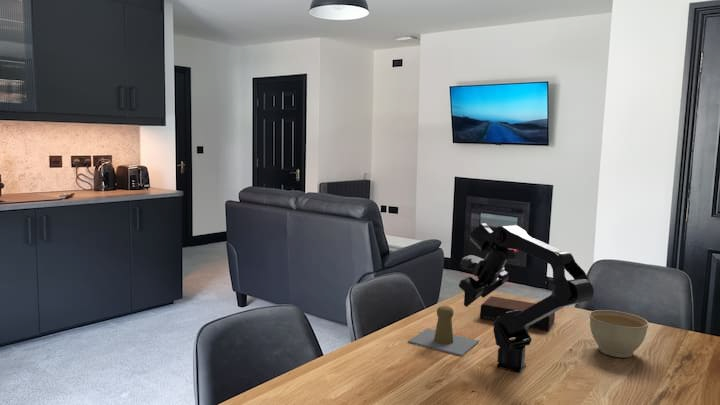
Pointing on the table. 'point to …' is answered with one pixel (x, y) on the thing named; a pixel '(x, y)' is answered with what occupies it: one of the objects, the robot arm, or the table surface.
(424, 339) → the mat
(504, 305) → the dark brown rectangular block
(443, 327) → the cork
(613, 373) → the table surface
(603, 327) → the planter bowl
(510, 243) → the robot arm
